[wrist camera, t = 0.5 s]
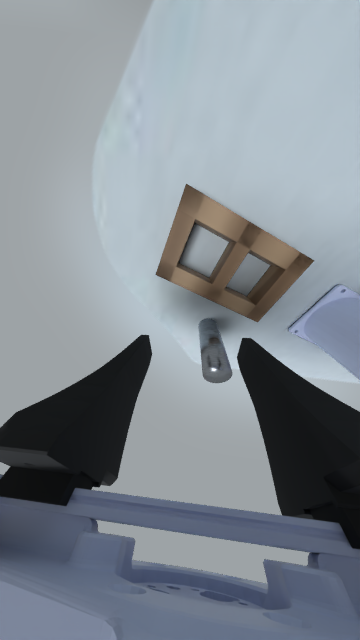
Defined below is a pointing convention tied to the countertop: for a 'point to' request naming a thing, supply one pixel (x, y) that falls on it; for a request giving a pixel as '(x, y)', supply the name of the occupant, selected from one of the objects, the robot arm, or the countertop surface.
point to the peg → (213, 353)
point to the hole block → (230, 257)
